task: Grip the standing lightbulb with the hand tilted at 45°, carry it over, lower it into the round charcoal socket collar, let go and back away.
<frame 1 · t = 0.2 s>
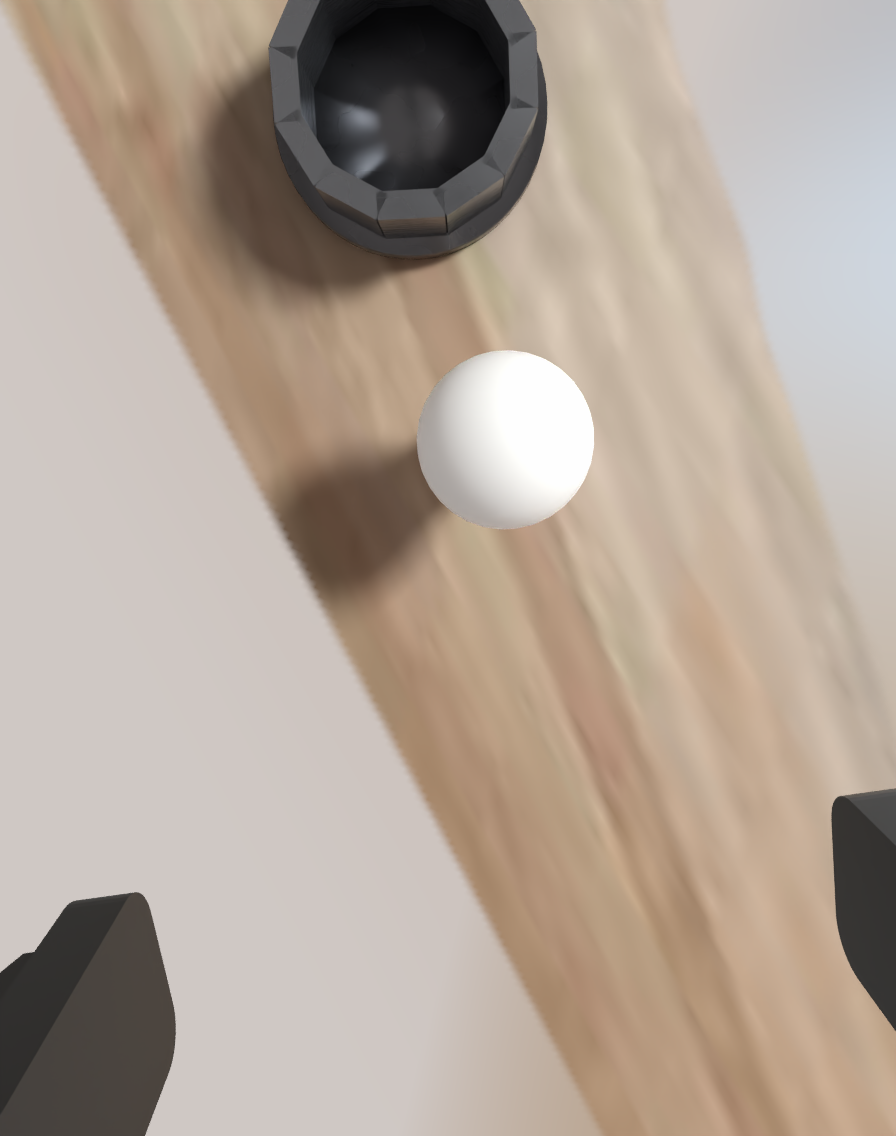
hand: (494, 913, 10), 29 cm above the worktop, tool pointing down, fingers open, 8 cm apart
lightbulb: (495, 434, 38), on the worktop
socket holder: (411, 119, 35), on the worktop
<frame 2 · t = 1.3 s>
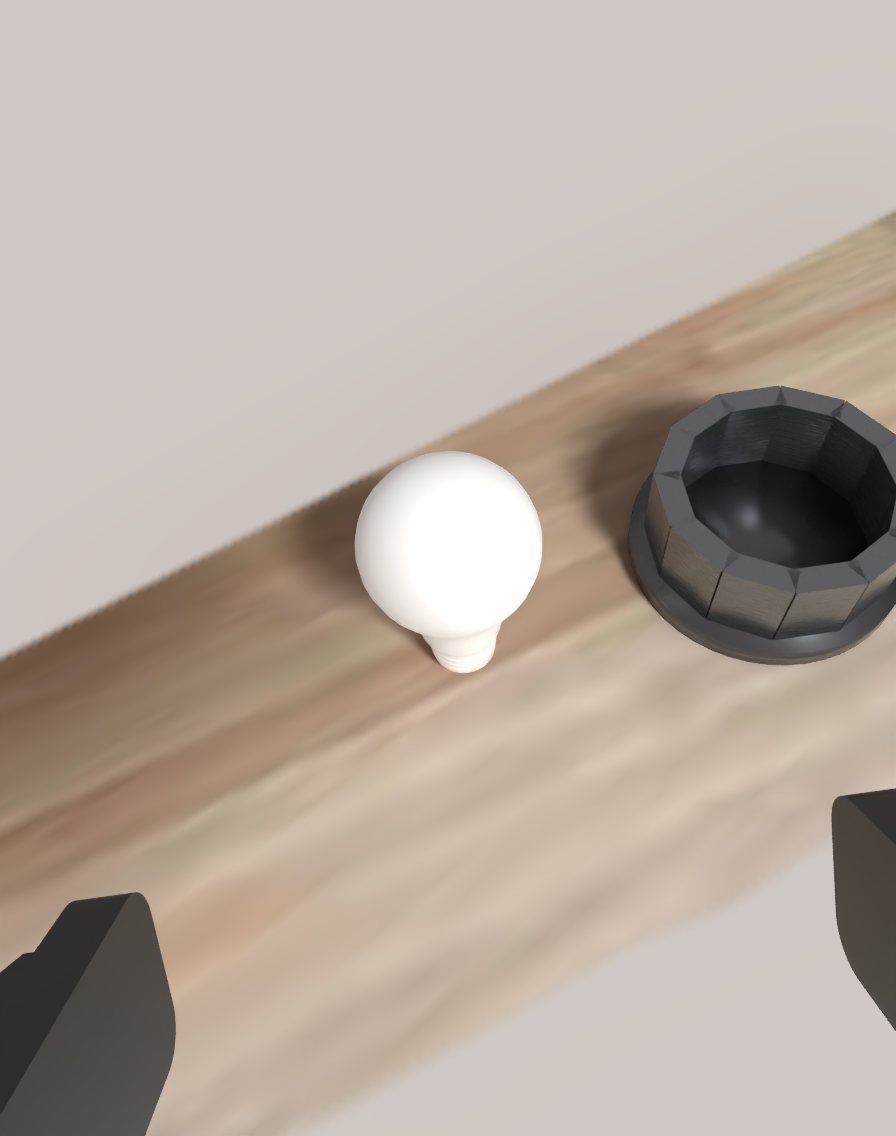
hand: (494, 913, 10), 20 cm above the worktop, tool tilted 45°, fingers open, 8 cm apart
lightbulb: (465, 655, 35), on the worktop
socket holder: (760, 547, 36), on the worktop
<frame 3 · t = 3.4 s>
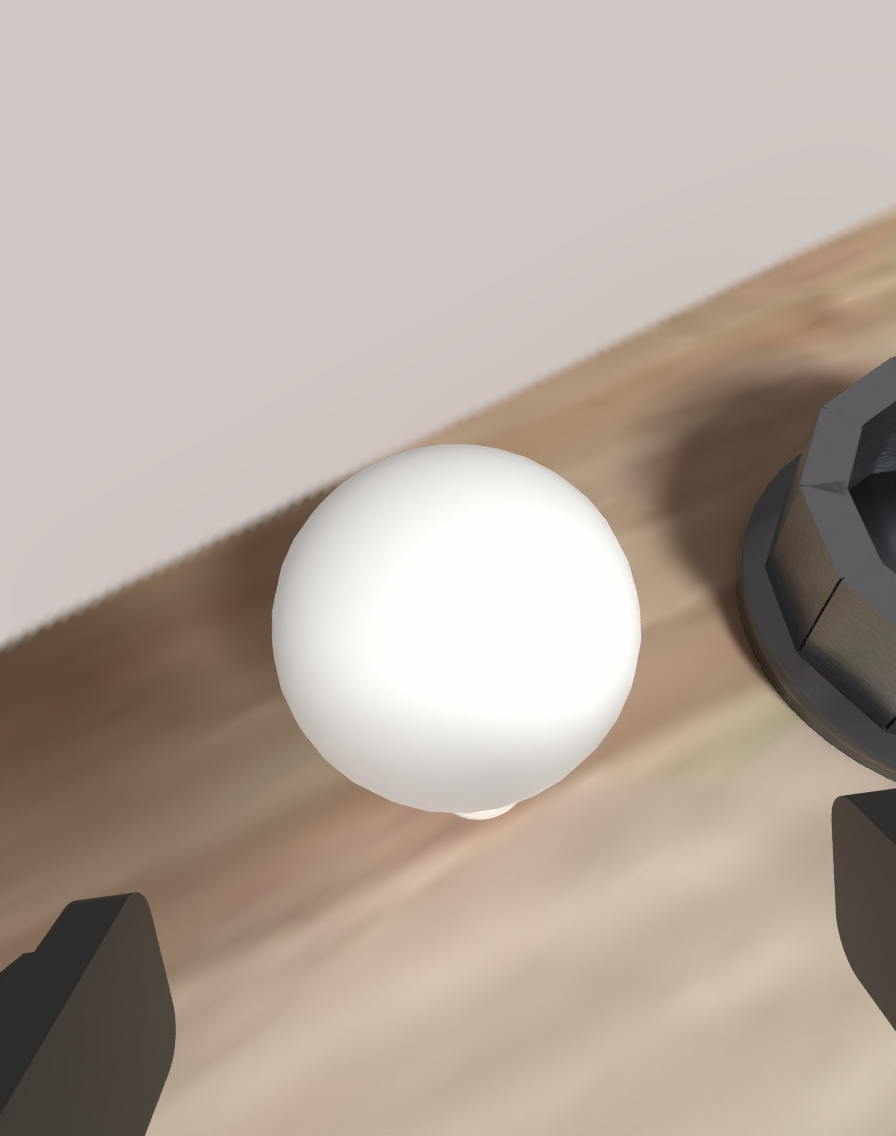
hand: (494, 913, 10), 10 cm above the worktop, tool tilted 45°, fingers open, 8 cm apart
lightbulb: (480, 781, 21), on the worktop
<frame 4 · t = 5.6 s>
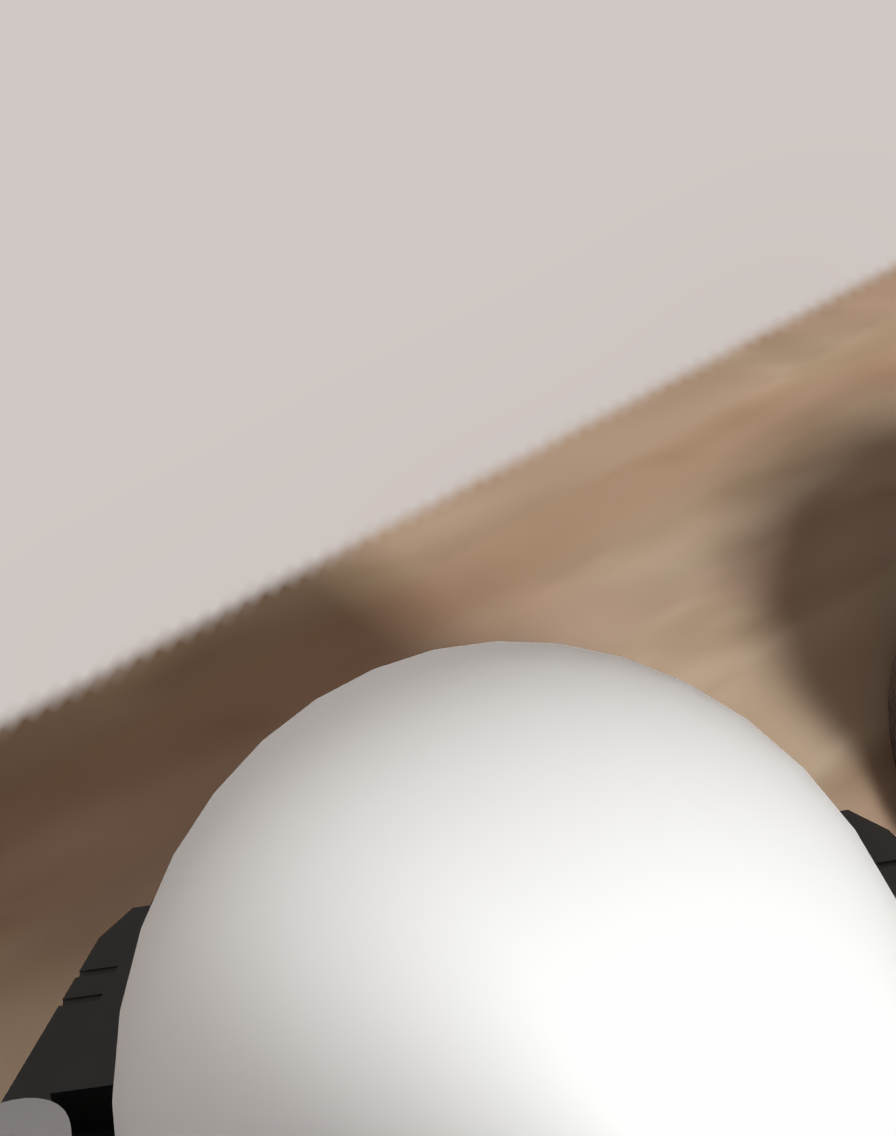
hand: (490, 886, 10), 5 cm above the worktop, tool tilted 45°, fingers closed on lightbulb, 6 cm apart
lightbulb: (521, 1066, 14), on the worktop, touching gripper
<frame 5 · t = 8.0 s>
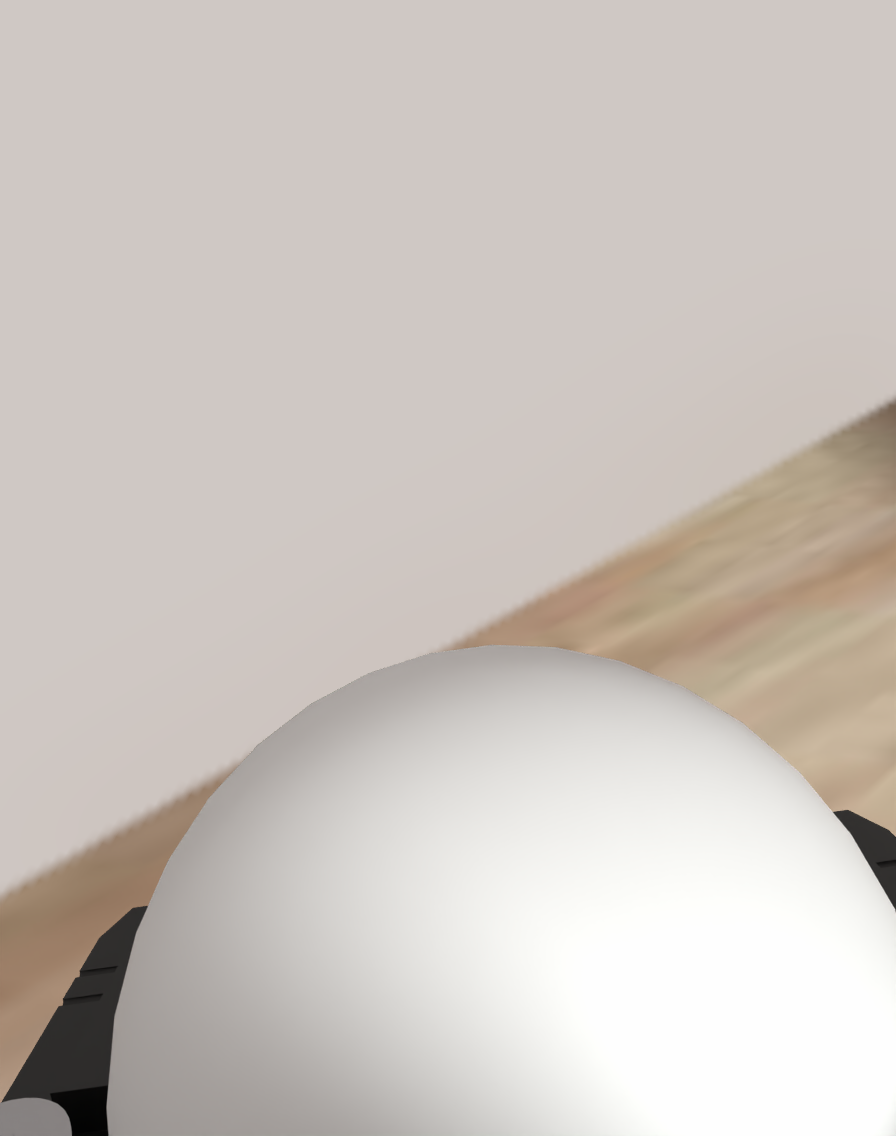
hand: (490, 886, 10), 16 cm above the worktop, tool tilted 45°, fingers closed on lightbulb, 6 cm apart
lightbulb: (519, 1068, 14), point 11 cm above the worktop, touching gripper
when the fingers open (7 cm above the worktop, at t = 10.5 s): lightbulb drops 1 cm, resting on socket holder.
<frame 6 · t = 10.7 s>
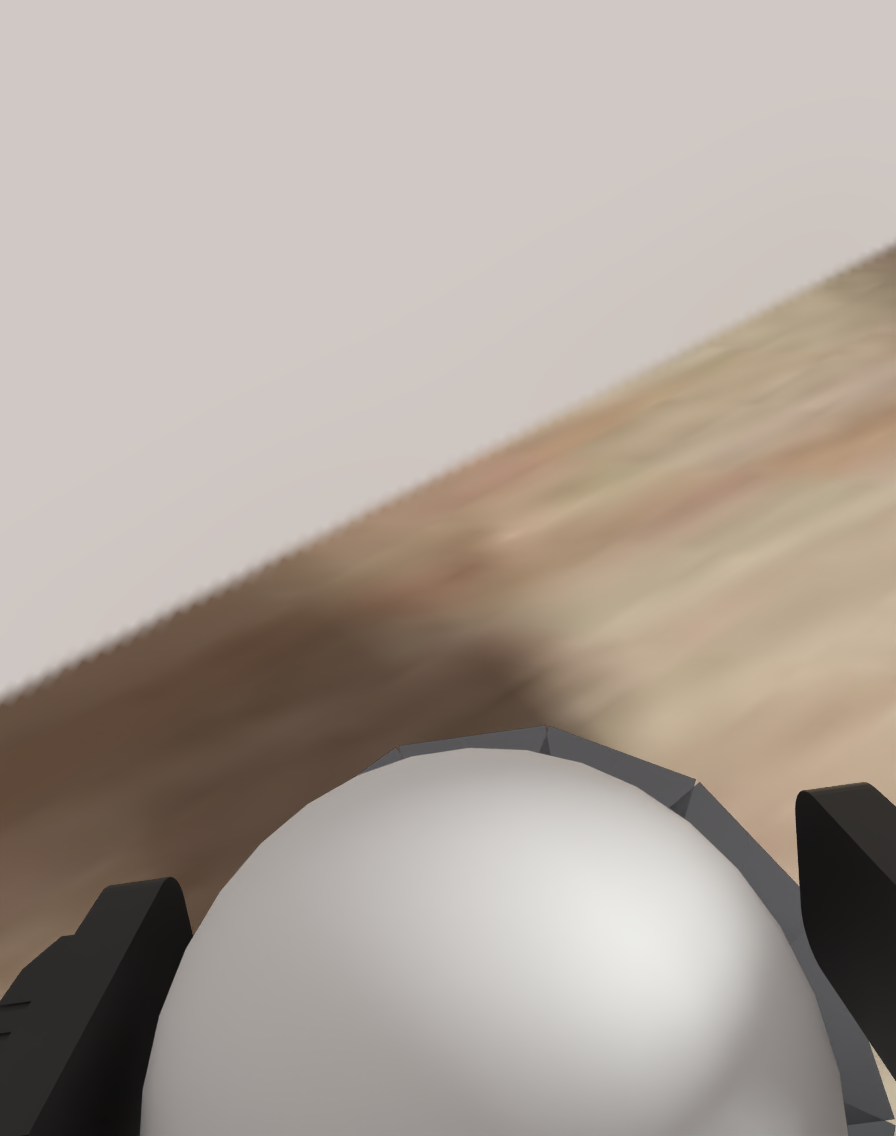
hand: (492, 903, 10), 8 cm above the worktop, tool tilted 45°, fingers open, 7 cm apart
lightbulb: (517, 1086, 15), point 1 cm above the worktop, touching socket holder
socket holder: (520, 1071, 16), on the worktop
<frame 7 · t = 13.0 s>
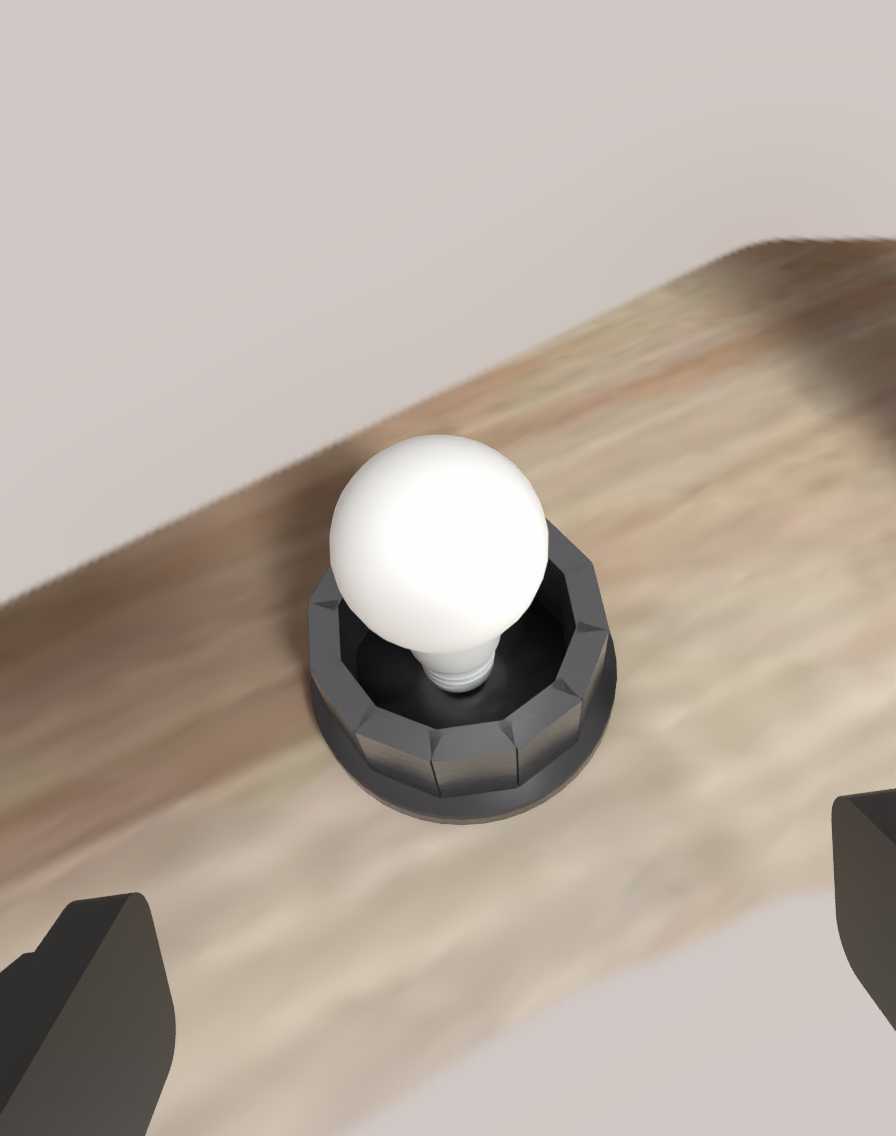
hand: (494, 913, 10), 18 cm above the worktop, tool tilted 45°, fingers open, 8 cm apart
lightbulb: (460, 672, 31), point 1 cm above the worktop, touching socket holder
socket holder: (463, 675, 31), on the worktop
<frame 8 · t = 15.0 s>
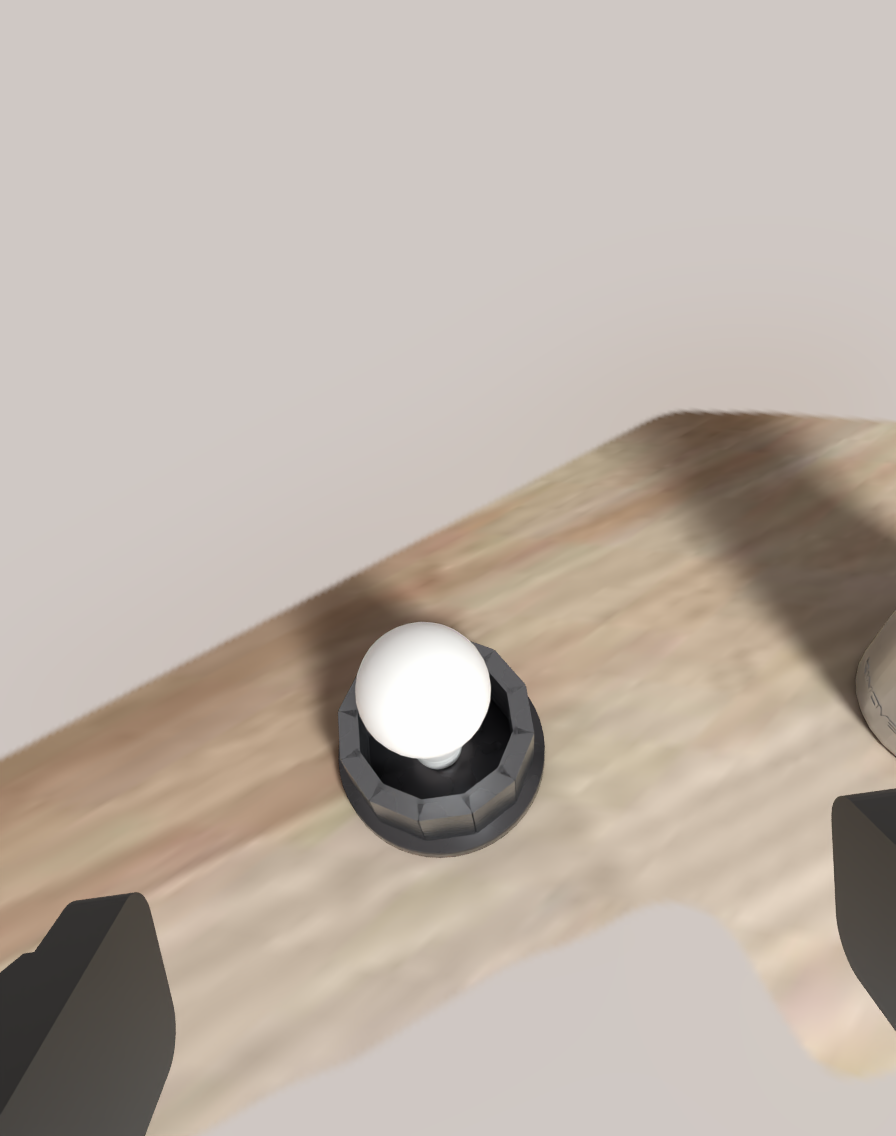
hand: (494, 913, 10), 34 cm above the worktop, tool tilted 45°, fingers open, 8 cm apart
lightbulb: (439, 753, 45), point 1 cm above the worktop, touching socket holder
socket holder: (442, 753, 46), on the worktop
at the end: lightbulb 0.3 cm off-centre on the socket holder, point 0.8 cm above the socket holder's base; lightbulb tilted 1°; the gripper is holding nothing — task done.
